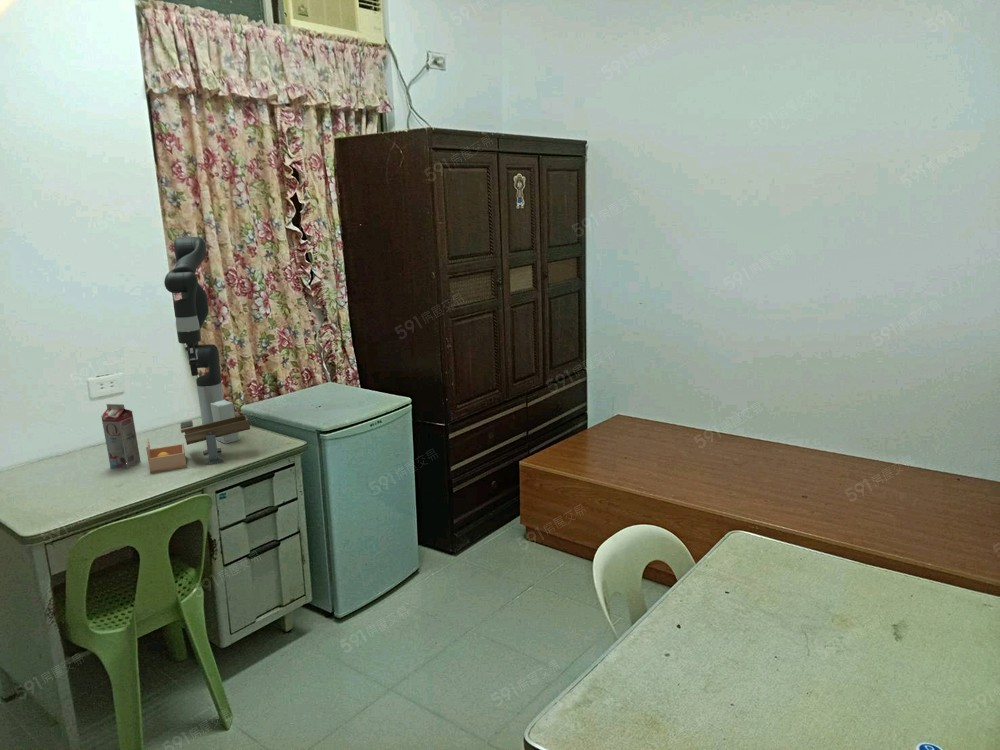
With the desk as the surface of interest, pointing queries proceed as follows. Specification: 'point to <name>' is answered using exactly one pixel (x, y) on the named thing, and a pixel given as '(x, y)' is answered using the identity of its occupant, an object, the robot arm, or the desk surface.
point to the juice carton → (120, 436)
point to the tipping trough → (214, 428)
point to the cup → (166, 458)
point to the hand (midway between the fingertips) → (194, 373)
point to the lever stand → (212, 450)
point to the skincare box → (222, 412)
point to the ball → (162, 454)
